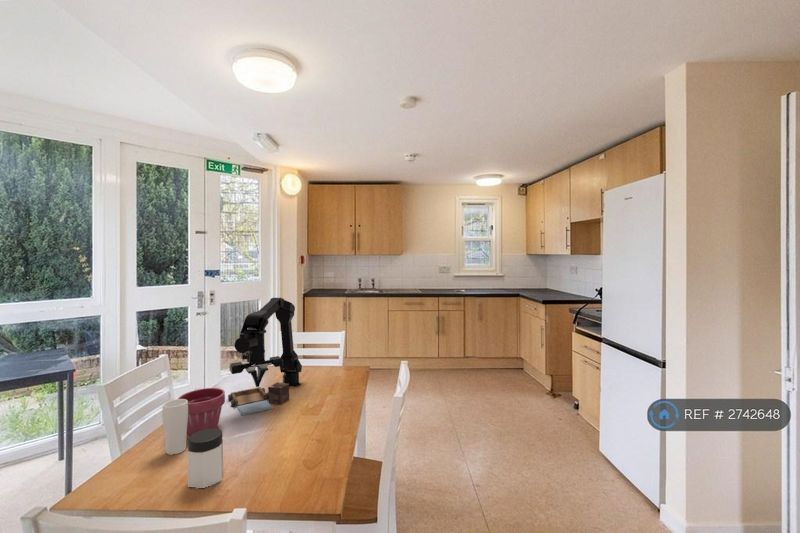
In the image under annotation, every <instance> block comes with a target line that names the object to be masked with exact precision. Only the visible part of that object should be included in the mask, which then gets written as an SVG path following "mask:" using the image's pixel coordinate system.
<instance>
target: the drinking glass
mask: <svg viewBox="0 0 800 533" xmlns="http://www.w3.org/2000/svg"><path fill="white" fill-rule="evenodd" d="M161 412H162V415H161V416H162V425H163V433H164V442H165V443H164V444H165V453H166V454H167V455H170V456H172V455H173V454H175V455H178V453H179V454H180V453H183V452H184V451H185V450H186V449H187V437H188V435H187V424H188V400H186V399H178V398H176V399H172V400H169V401H166V402H164V403H163V404H162V411H161ZM173 456H174V455H173Z"/></svg>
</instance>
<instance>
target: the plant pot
mask: <svg viewBox="0 0 800 533" xmlns="http://www.w3.org/2000/svg"><path fill="white" fill-rule="evenodd" d="M225 394H226V393H225V390H224V389H222V388H220V387H209V388H208V387H205V388H199V389H195V390H192V391H191V390H190V391H188V392H186V393H184V394H182V395H180V396H179V397H178V398H177V399H186V400H188V424H187V437H188V438H189V437H190V436H191V435H192V434H194V433H196V432H198V431H201V430H205V429H218V427H219V423H220V419H221V412H222V407H223V405H224V404H225V402H226V395H225Z"/></svg>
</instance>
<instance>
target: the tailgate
mask: <svg viewBox="0 0 800 533" xmlns="http://www.w3.org/2000/svg"><path fill="white" fill-rule="evenodd" d="M236 409H238V411H239V413H240V415H241V416H245V415H249V414H250V415H251V414H255V413H258V412H262V411H268V410H271V409H273V406H272V405H271V403H269V401H267V400H265V401H260V402H255V403H251V404H246V405H241V406H237V407H236Z"/></svg>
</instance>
